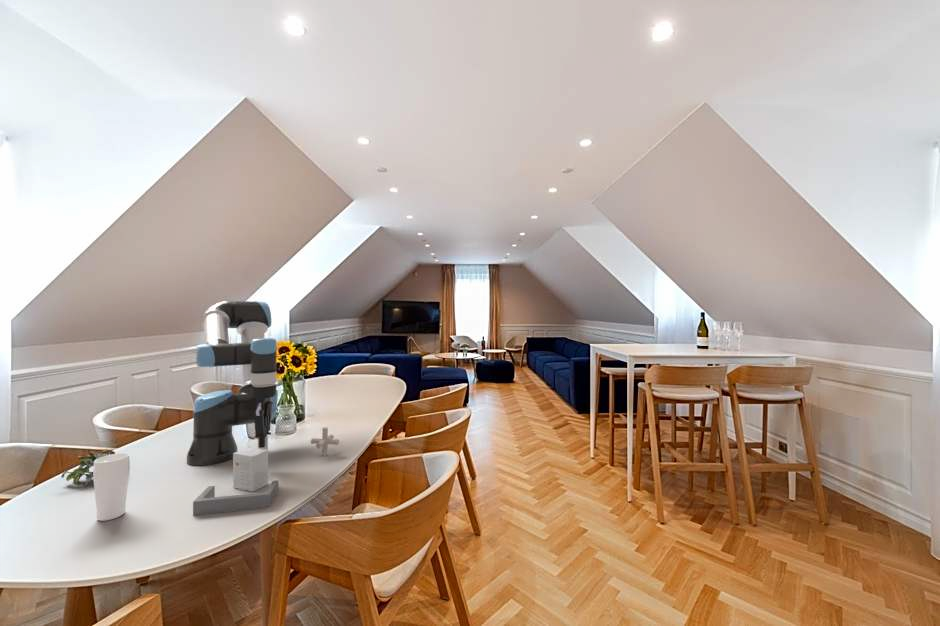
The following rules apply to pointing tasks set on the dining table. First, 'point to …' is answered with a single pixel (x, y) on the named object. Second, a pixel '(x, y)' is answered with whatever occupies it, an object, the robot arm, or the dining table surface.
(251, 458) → the small box
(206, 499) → the square bracket
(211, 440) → the robot arm
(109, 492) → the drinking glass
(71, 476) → the green leafy plant
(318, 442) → the pipe connector
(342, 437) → the dining table surface
